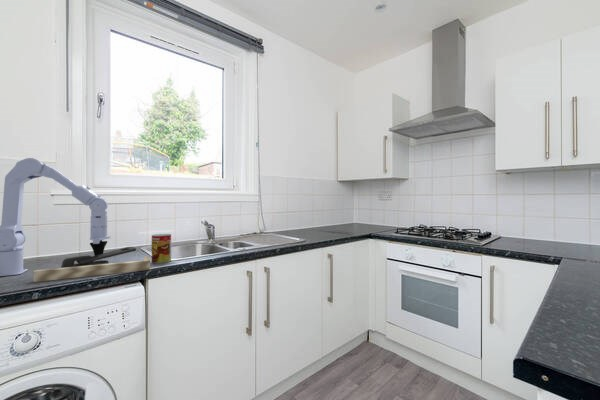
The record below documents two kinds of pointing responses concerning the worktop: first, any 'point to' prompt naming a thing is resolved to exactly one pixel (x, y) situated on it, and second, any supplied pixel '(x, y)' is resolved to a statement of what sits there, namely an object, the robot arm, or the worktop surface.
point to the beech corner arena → (91, 270)
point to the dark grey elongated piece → (94, 258)
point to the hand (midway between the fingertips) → (98, 258)
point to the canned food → (161, 248)
